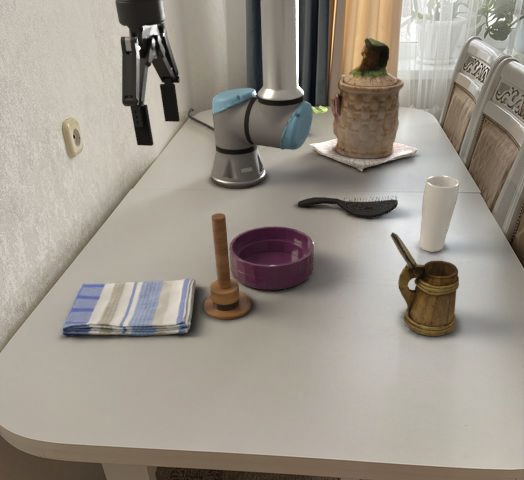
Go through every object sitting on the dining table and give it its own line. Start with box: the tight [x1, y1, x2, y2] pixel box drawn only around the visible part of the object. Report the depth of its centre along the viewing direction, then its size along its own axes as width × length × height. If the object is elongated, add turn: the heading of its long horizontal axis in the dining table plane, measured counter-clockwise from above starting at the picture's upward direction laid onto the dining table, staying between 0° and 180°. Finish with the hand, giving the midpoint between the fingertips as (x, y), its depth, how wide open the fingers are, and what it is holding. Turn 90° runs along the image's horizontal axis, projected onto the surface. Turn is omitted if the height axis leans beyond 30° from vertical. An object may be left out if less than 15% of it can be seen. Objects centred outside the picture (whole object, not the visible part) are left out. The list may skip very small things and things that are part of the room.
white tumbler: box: [418, 175, 460, 253], centre depth 117 cm, size 7×7×15 cm
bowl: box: [228, 225, 315, 291], centre depth 114 cm, size 17×17×6 cm
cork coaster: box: [203, 291, 252, 321], centre depth 105 cm, size 9×9×1 cm
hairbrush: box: [297, 195, 399, 219], centre depth 137 cm, size 8×4×25 cm
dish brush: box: [209, 212, 240, 311], centre depth 100 cm, size 5×5×18 cm
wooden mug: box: [390, 232, 460, 337], centre depth 94 cm, size 9×14×18 cm, turn 88°
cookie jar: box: [309, 37, 418, 172], centre depth 160 cm, size 25×25×32 cm
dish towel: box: [62, 278, 197, 337], centre depth 104 cm, size 17×24×3 cm
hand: (159, 132), depth 100 cm, fingers open, 13 cm apart
